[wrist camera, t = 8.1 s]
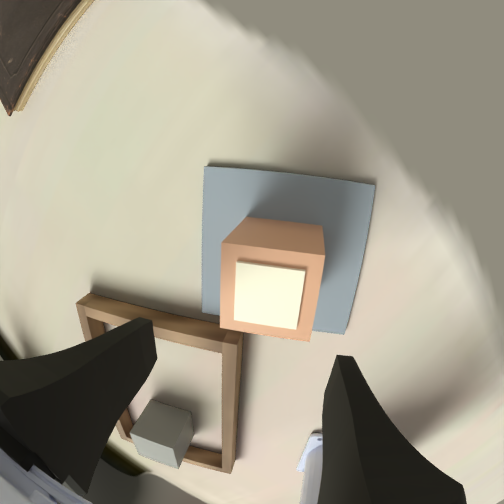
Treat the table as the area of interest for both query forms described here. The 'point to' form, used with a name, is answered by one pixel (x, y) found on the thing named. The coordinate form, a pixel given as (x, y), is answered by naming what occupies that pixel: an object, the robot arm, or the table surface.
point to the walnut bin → (187, 333)
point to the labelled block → (271, 277)
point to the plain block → (163, 433)
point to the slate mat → (293, 210)
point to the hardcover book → (31, 43)
